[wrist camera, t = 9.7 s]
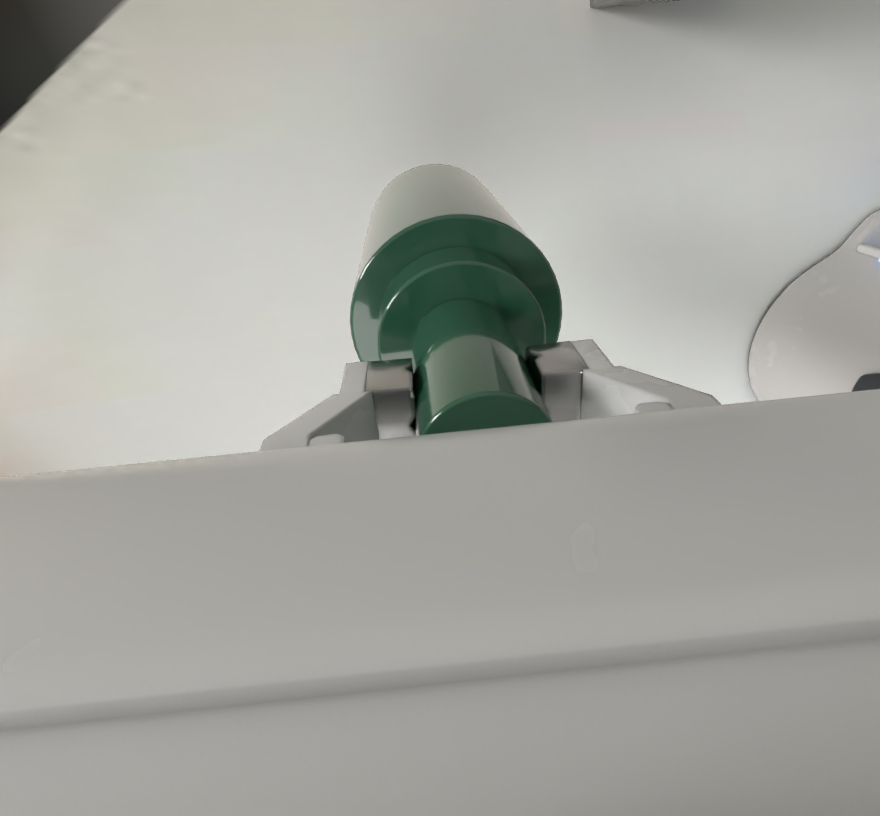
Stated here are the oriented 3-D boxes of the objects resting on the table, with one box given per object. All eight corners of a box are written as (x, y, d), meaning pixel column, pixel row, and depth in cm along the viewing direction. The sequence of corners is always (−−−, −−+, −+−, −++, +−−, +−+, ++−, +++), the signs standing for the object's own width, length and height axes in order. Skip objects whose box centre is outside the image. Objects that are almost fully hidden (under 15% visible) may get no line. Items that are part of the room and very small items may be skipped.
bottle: (500, 157, 24) (673, 279, 9) (503, 293, 27) (637, 559, 12) (359, 170, 24) (289, 316, 9) (378, 305, 27) (350, 589, 12)
